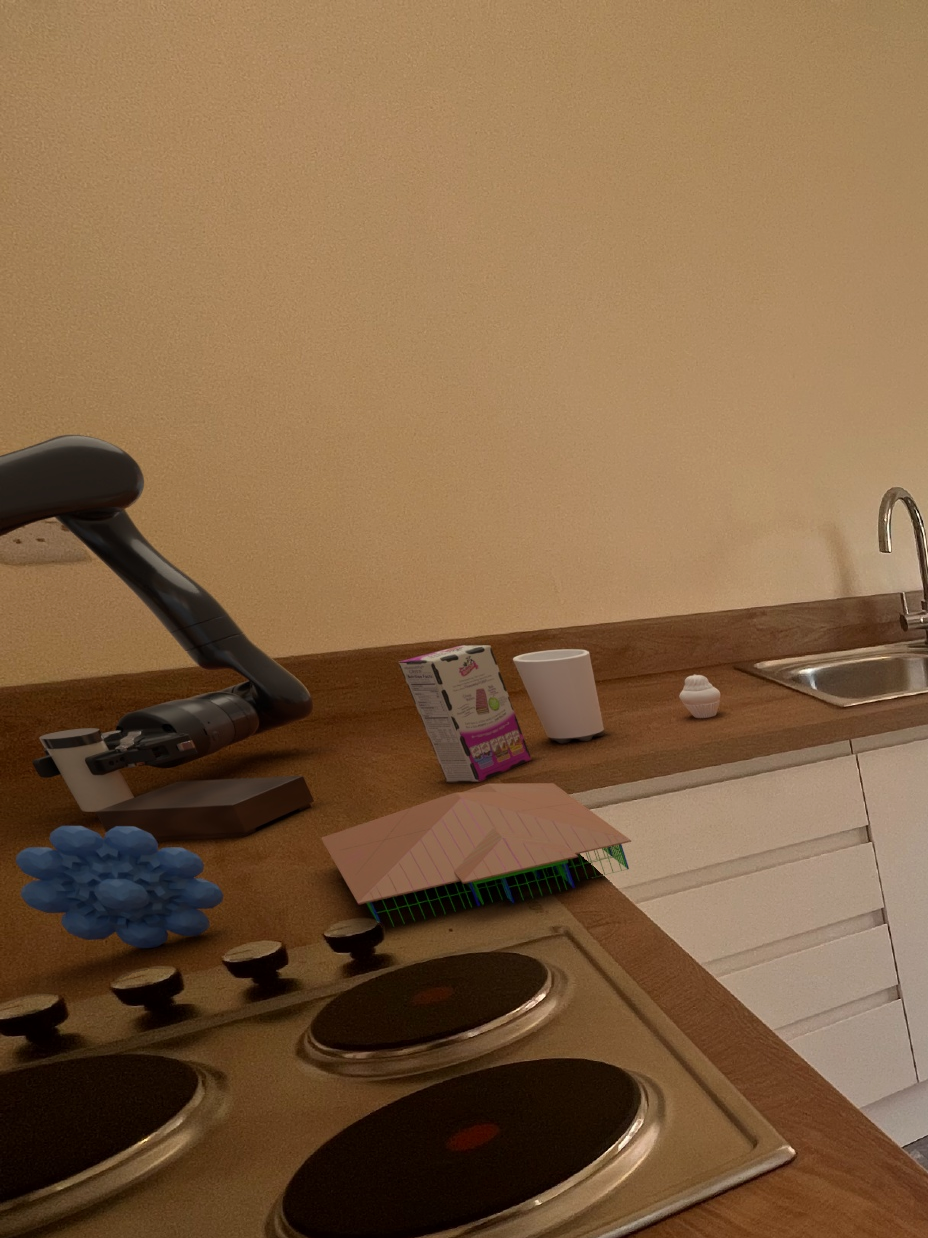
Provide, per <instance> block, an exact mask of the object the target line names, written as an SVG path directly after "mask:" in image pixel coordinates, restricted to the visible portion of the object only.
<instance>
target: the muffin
mask: <svg viewBox="0 0 928 1238" xmlns="http://www.w3.org/2000/svg"><path fill="white" fill-rule="evenodd" d="M682 687H683V689H682V690H681V691H680V693H679V695H678V696H679V700H680V701H681V702H682V705H683V706H684V707H685V708H686V709H687V710H688V712H689V713H690V714H691V715H692V716H693V717H694V718H696V719H707V718H711V717H712V718H713V717H715V716H717V713H718V710H719V706H720V703H721V699H720V698H721V692H720V690H719V689H718V688H716V687H715V686H713V684H712V683H711V682H709V678H707V677H706V676H704V675H701V674H695V673H693V675H689V676H687V677H686V678H685V679H684V685H683V686H682Z"/></svg>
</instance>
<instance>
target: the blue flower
mask: <svg viewBox="0 0 928 1238" xmlns="http://www.w3.org/2000/svg"><path fill="white" fill-rule="evenodd" d="M48 839H49V842H50V843H51V845H52V847H53V848H51V847H48V846H47V847H45V846H42V847H41V846H40V847H39V846H32V847H31V846H29V847H26V848H25V849H23V850H21V851H20V852H18V853H17V854H16V857H15V863H16V865H17V866H18V868H19V869H20V870H21V871H22V873H23V874H25V875H26V876H29V877H32V878H34V879H35V880H31V881H30V882H28V883H26V884H25V885H24V886H22V887H21V890H20V897H21V898H22V900H23V902H25V904H26V905H27V906H28V907H30V908H32V909H34V910H37V911H40V912H43V913H45V914H62V915H61V918H60V924H61V926H62V927H63V928H64V929H65V931H66V932H67V933H68V934H69V935H72V936H74V937H77V938H80V939H81V940H86V941H97V940H106V939H107V938H109V937H110V936H112V935H113V934H115V933H116V935H117V936H118V938H119V939H120V940H121V942H122V943H124V944H127V945H129V946H132V947H134V948H136V949H137V948H138V949H154V948H157V947H160V946H161V945H163V944H164V943H166V942H167V941H168V938H169V933H168V932H171V933H173V934H176V935H178V936H182V937H192V936H193V937H195V936H200V935H201V934H203V933H204V932H206V931H207V930H209V929H210V919H209V917H208V916H207V915H206V914H205V912H204V911H202V910H209V909H214V908H215V907H217V906H218V905H220V904H221V903H223V901H224V893H223V891H222V890H221V888H220V887H219V886H218V885H217V884H216V883H214V882H211V881H209V880H207V879H205V878H202V877H197V876H199V875H201V874H202V873H203V872H204V867H205V864H204V862H203V860H202V858H201V857H200V856H199V855H198V854H197V853H195V852H193V851H190V850H188V849H186V848H183V847H181V846H179V847H174V846H173V847H172V846H171V847H166V846H165V847H162V848H160V849H159V843H158V841H156V839H155V838H154V837H153V836H152V834H150V833H148V832H146V831H143V830H141V829H139V828H137V827H133V826H116V827H114V828H112V829H110V830H109V831H108V832H107V833H106V832H105V833H104V838H103V837H102V835H101V834H100V833H98V832H96V831H94V830H93V829H90V828H88V827H85V826H82V825H61V826H59V827H57V828H55V829H53V830H52V831H51V832H50V834H49V838H48ZM36 879H37V880H36Z"/></svg>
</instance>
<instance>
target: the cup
mask: <svg viewBox="0 0 928 1238" xmlns="http://www.w3.org/2000/svg"><path fill="white" fill-rule="evenodd" d="M512 661H513V663H514V666H515V668H516V670H517V672H518V674H519V677H520V679H521V681H522V684H523V686H524V688H525V690H526V692H527V695H528V697H529V699H530V702H531V704H532V706H533V708H534V710H535V713H536V715H537V717H538V720H539V722H540V724H541V725H542V728H543V731H544V733H545V735H546V737H547V738H548V739H549V740H550V741H552V742H557V743H558V744H569V743H570V742H572V740H573V739H574V740H575V739H576V740H579V741H580V742H589V741H591V740H593V738H598V737H603V736H604V734H605V728H604V722H603V718H602V713H601V707H600V702H599V697H598V690H597V686H596V681H595V676H594V670H593V665H592V661H591V655H590V651H589V650H586V649H577V648H570V649H569V648H568V649H566V648H565V649H548V650H541V651H533V652H527V653H522V654H519V655H516V656H514V657H513V658H512Z"/></svg>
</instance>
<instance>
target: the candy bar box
mask: <svg viewBox="0 0 928 1238" xmlns="http://www.w3.org/2000/svg"><path fill="white" fill-rule="evenodd" d="M397 663H398V665H399V667H400V671H401V672H402V675H403V677H404V680H405V682H406V685H407V687H408V690H409V692H410V695H411V697H412V700H413V703H414V705H415V707H416V710H417V712H418V715H419V717H420V719H421V722H422V725H423V726H424V730H425V732H426V735H427V736H428V739H429V742H430V744H431V747H432V749H433V752H434V754H435V757H436V759H437V762H438V764H439V767H440V769H441V771H442V774H443V776H444V779H445V781H446V783H482V782H483V781H486V780H489V779H491V778H492V777H496V776H497V775H500V774H502V773H504V772H507V771H509V770H511V769H514V768H516V767H518V766H521V765H524V764H525V763H528V762H530V761H531V760H532V757H531V754H530V751H529V748H528V746H527V743H526V740H525V737H524V735H523V732H522V729H521V726H520V724H519V720H518V718H517V716H516V713H515V710H514V707H513V704H512V702H511V699H510V696H509V693H508V690H507V688H506V685H505V682H504V679H503V677H502V674H501V671H500V668H499V666H498V663H497V660H496V657H495V654H494V651H493V648H492V646H491V645H485V644H482V645H481V644H479V645H476V644H473V645H472V644H470V645H467V644H464V645H457V646H454V647H450V648H446V649H445V648H444V649H441V650H437V651H433V652H431V653H427V654H423V655H419V656H416V657H412V658H408V659H404V660H400V661H398V662H397Z"/></svg>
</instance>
